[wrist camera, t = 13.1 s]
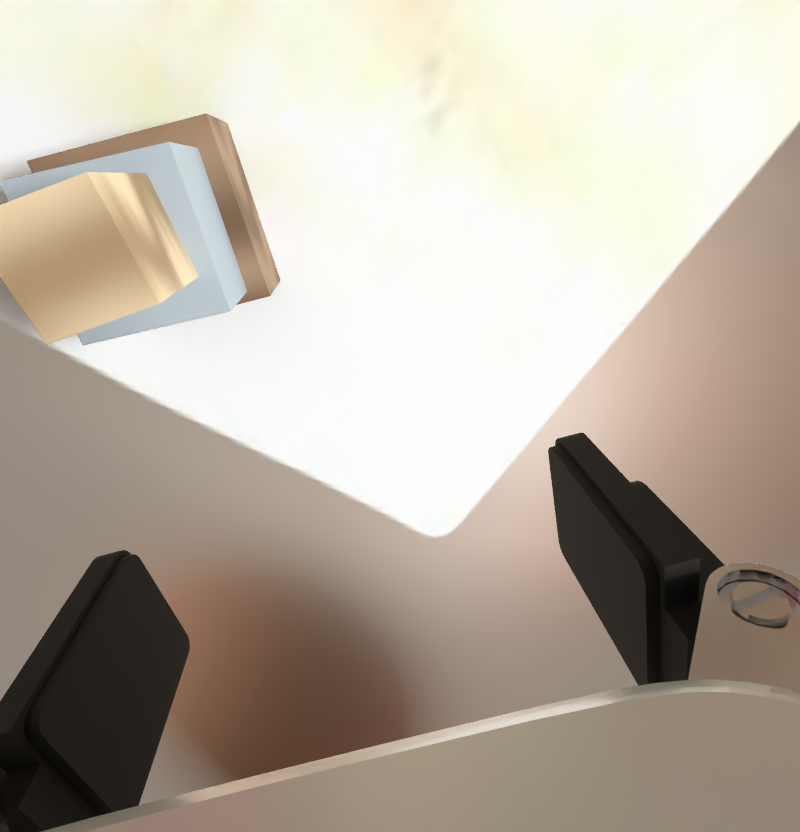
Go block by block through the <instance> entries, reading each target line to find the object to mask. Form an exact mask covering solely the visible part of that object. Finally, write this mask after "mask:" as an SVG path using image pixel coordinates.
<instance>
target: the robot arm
mask: <svg viewBox="0 0 800 832" xmlns="http://www.w3.org/2000/svg"><path fill="white" fill-rule="evenodd" d="M548 453H549V462H550V471H551V479H552V487H553V496H554V505H555V513H556V521H557V530H558V538H559V544H560V548H561V550H562V553H563V555H564V557H565V559H566V561H567V563H568V564H569V566H570V568H571V570H572V571H573V573H574V575H575V576H576V578H577V580H578V582H579V583H580V585H581V587H582V588H583V590H584V592H585V594H586V595H587V597H588V599H589V600H590V602H591V604H592V606H593V607H594V609H595V611H596V613H597V615H598V616H599V618H600V620H601V621H602V623H603V625H604V627H605V628H606V630H607V632H608V633H609V635H610V637H611V639H612V640H613V642H614V644H615V646H616V647H617V649H618V651H619V652H620V654H621V656H622V658H623V659H624V661H625V663H626V665H627V666H628V668H629V670H630V671H631V673H632V675H633V677H634V678H635V680H636V682H637V684H638V685H639V686H634V687H628V688H622V689H617V690H611V691H605V692H601V693H596V694H592V695H588V696H583V697H579V698H574V699H570V700H565V701H561V702H556V703H553V704H548V705H543V706H539V707H535V708H530V709H525V710H521V711H517V712H512V713H509V714H504V715H500V716H496V717H492V718H488V719H484V720H480V721H476V722H472V723H468V724H463V725H459V726H455V727H451V728H447V729H443V730H439V731H435V732H430V733H426V734H423V735H418V736H414V737H410V738H406V739H402V740H398V741H394V742H389V743H385V744H382V745H377V746H373V747H369V748H365V749H361V750H357V751H353V752H349V753H345V754H341V755H337V756H334V757H329V758H325V759H321V760H317V761H313V762H309V763H305V764H301V765H297V766H293V767H289V768H285V769H281V770H277V771H273V772H269V773H265V774H261V775H257V776H253V777H249V778H245V779H241V780H237V781H233V782H229V783H225V784H222V785H217V786H213V787H210V788H206V789H202V790H198V791H194V792H190V793H186V794H182V795H178V796H175V797H171V798H167V799H163V800H159V801H155V802H151V803H147V804H143V805H139V802H140V799H141V796H142V793H143V790H144V787H145V784H146V781H147V778H148V775H149V772H150V769H151V766H152V763H153V760H154V757H155V754H156V751H157V748H158V745H159V742H160V739H161V736H162V732H163V729H164V726H165V723H166V720H167V717H168V714H169V711H170V708H171V705H172V702H173V699H174V696H175V693H176V690H177V687H178V684H179V681H180V678H181V675H182V672H183V669H184V666H185V663H186V659H187V657H188V653H189V647H190V645H189V638H188V636H187V634H186V632H185V631H184V629H183V627H182V626H181V624H180V622H179V621H178V619H177V618H176V616H175V614H174V613H173V611H172V609H171V608H170V606H169V605H168V603H167V602H166V600H165V598H164V597H163V595H162V593H161V592H160V590H159V589H158V587H157V585H156V584H155V582H154V580H153V579H152V577H151V576H150V574H149V572H148V571H147V569H146V568H145V566H144V564H143V563H142V561H141V560H140V558H139V557H138V556H137V555H131V554H130V553H129V552H128V551H125V550H123V551H118V552H114V553H111V554H106V555H103V556H99V557H97V558H95V559H94V560H93V561H92V563H91V564H90V566H89V567H88V569H87V571H86V572H85V574H84V575H83V577H82V578H81V580H80V581H79V583H78V584H77V586H76V587H75V589H74V590H73V592H72V593H71V595H70V596H69V598H68V599H67V601H66V602H65V604H64V605H63V607H62V608H61V610H60V612H59V613H58V615H57V616H56V618H55V619H54V621H53V622H52V624H51V625H50V627H49V628H48V630H47V631H46V633H45V634H44V636H43V637H42V639H41V640H40V642H39V643H38V645H37V646H36V648H35V650H34V651H33V653H32V654H31V656H30V657H29V659H28V660H27V662H26V663H25V665H24V666H23V668H22V669H21V671H20V672H19V674H18V675H17V677H16V679H15V680H14V681H13V683H12V684H11V686H10V687H9V689H8V690H7V692H6V694H5V695H4V697H3V698H2V700H1V701H0V832H800V580H799V579H798V578H796V577H794V576H792V575H790V574H788V573H786V572H784V571H782V570H780V569H777V568H774V567H770V566H767V565H763V564H755V563H748V562H745V563H731V564H728V565H724V564H723V563H722V562H721V561H720V560H719V559H718V558H717V557H716V556H715V555H714V554H713V553H712V552H711V551H710V550H709V549H708V548H707V547H706V546H705V545H704V544H703V543H702V542H701V541H700V540H699V539H698V538H697V536H696V535H695V534H693V532H692V531H691V530H690V529H689V528H688V527H687V526H686V525H685V524H684V523H683V522H682V521H681V520H680V519H679V518H678V517H677V516H676V515H675V514H674V513H673V512H672V511H671V510H670V509H669V508H668V507H667V506H666V505H665V504H664V503H663V502H662V501H661V500H660V499H659V498H658V497H657V496H656V495H655V494H654V493H653V492H652V491H651V490H650V489H649V488H648V486H646V485H645V484H644V483H642V482H640V481H635V482H631V483H630V482H629V481H628V480H627V479H626V478H625V477H624V476H623V474H622V473H620V471H619V470H618V469H617V468H616V467H615V466H614V465H613V464H612V463H611V462H610V461H609V460H608V458H606V456H605V455H604V454H603V453H602V452H601V451H600V450H599V449H598V448H597V447H596V446H595V445H594V444H593V443H592V441H591V440H590V439H589V438H588V437H587V436H586V435H585V434H584V433H578V434H574V435H570V436H566V437H562V438H558V439H557V440H556V443H555V446H554V447H550V448H549V450H548ZM138 805H139V806H138Z"/></svg>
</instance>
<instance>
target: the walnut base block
mask: <svg viewBox="0 0 800 832" xmlns="http://www.w3.org/2000/svg"><path fill="white" fill-rule="evenodd" d="M166 142H172V143H177V144H182V145H187V146H192V147H197V148H198V150H199V153H200V156H201V159H202V161H203V164H204V167H205V170H206V173H207V176H208V179H209V182H210V185H211V188H212V191H213V193H214V196H215V199H216V202H217V205H218V208H219V211H220V214H221V217H222V220H223V223H224V226H225V228H226V231H227V234H228V237H229V240H230V243H231V246H232V249H233V252H234V255H235V258H236V260H237V263H238V266H239V269H240V272H241V275H242V278H243V281H244V284H245V287H246V290H247V293H246V294H245V295H244V296H243V297H242V298H241V300H240V301H239V302H238V303H237V304H241V303H245V302H249V301H252V300H256V299H260V298H264V297H268V296H271V294H272V292H273V291H274V289H275V288H276V286H277V285H278V283H279V281H280V278H279V275H278V272H277V269H276V266H275V263H274V260H273V257H272V254H271V251H270V248H269V245H268V242H267V239H266V236H265V233H264V230H263V228H262V225H261V222H260V219H259V216H258V213H257V210H256V207H255V204H254V201H253V198H252V195H251V192H250V189H249V186H248V183H247V180H246V177H245V174H244V171H243V168H242V165H241V162H240V159H239V156H238V154H237V151H236V148H235V145H234V142H233V139H232V136H231V133H230V130H229V127H228V124H227V123H226V122H223V121H221V120H219V119H217V118H215V117H213V116H211V115H208V114H202V115H199V116H195V117H191V118H187V119H184V120H180V121H176V122H172V123H169V124H165V125H161V126H157V127H153V128H150V129H146V130H142V131H138V132H135V133H131V134H127V135H123V136H119V137H116V138H112V139H108V140H104V141H101V142H97V143H93V144H89V145H86V146H82V147H78V148H74V149H70V150H67V151H63V152H59V153H55V154H52V155H48V156H44V157H40V158H36V159H33V160H29V161H27V163H28V165H29V167H30V169H31V171H32V173H37V172H41V171H45V170H50V169H54V168H58V167H63V166H67V165H71V164H76V163H80V162H84V161H88V160H93V159H97V158H101V157H106V156H110V155H114V154H119V153H123V152H127V151H132V150H136V149H140V148H144V147H149V146H153V145H157V144H162V143H166ZM237 304H236V305H237Z"/></svg>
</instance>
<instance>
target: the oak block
mask: <svg viewBox="0 0 800 832" xmlns="http://www.w3.org/2000/svg"><path fill="white" fill-rule="evenodd" d="M198 277H199V276H198V274H197V272H196V270H195V268H194V266H193V264H192V262H191V260H190V258H189V256H188V254H187V252H186V250H185V248H184V246H183V244H182V243H181V241H180V239H179V237H178V235H177V233H176V231H175V229H174V227H173V225H172V223H171V221H170V219H169V217H168V215H167V213H166V211H165V209H164V207H163V205H162V203H161V201H160V199H159V197H158V195H157V193H156V191H155V189H154V187H153V185H152V183H151V181H150V179H149V177H148V175H147V173H109V172H85V173H83V174H80V175H77V176H75V177H72V178H69V179H67V180H64V181H62V182H59V183H56V184H54V185H51V186H48V187H46V188H43V189H41V190H38V191H35V192H33V193H30V194H27V195H25V196H22V197H20V198H17V199H14V200H12V201H9V202H7V203H4V204H1V205H0V278H1V279H2V281H3V282H4V284H5V285H6V287H7V288H8V290H9V291H10V292H11V294H12V295H13V297H14V298H15V300H16V301H17V303H18V304H19V306H20V307H21V308H22V310H23V311H24V313H25V314H26V316H27V317H28V319H29V320H30V321H31V323H32V324H33V326H34V327H35V329H36V330H37V332H38V333H39V335H40V336H41V337H42V339H43V340H44V342H45V343H46V345H47V344H50V343H53V342H55V341H58V340H61V339H64V338H66V337H69V336H72V335H75V334H77V333H80V332H83V331H86V330H88V329H91V328H94V327H97V326H99V325H102V324H105V323H108V322H110V321H113V320H116V319H119V318H121V317H124V316H127V315H130V314H132V313H135V312H138V311H141V310H143V309H146V308H149V307H152V306H154V305H157V304H160V303H161V302H163V301H164V300H166V299H167V298H169V297H170V296H171V295H173V294H174V293H176V292H177V291H179V290H180V289H182V288H183V287H185V286H186V285H188V284H189V283H191V282H192V281H194V280H195V279H197V278H198Z"/></svg>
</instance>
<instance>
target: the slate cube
mask: <svg viewBox="0 0 800 832" xmlns="http://www.w3.org/2000/svg"><path fill="white" fill-rule="evenodd" d="M85 172H109V173H147V175H148V177H149V179H150V181H151V183H152V185H153V187H154V189H155V191H156V193H157V195H158V197H159V199H160V201H161V203H162V205H163V207H164V209H165V211H166V213H167V215H168V217H169V219H170V221H171V223H172V225H173V227H174V229H175V231H176V233H177V235H178V237H179V239H180V241H181V243H182V244H183V246H184V248H185V250H186V252H187V254H188V256H189V258H190V260H191V262H192V264H193V266H194V268H195V270H196V272H197V274H198V276H199V277H198V278H197V279H195V280H194V281H192V282H191V283H189V284H188V285H186V286H185V287H183V288H182V289H180V290H179V291H177V292H176V293H174V294H173V295H171V296H170V297H169V298H167V299H166V300H164V301H163V302H161V303H160V304H157V305H154V306H152V307H149V308H146V309H143V310H141V311H138V312H135V313H132V314H130V315H127V316H124V317H121V318H119V319H116V320H113V321H110V322H108V323H105V324H102V325H99V326H97V327H94V328H91V329H88V330H86V331H83V332H80V333H77V335H78V337H79V339H80V341H81V343H82V345H87V344H91V343H95V342H100V341H104V340H108V339H113V338H117V337H121V336H126V335H130V334H134V333H138V332H143V331H147V330H151V329H156V328H160V327H164V326H169V325H173V324H177V323H182V322H186V321H190V320H195V319H199V318H203V317H207V316H212V315H216V314H220V313H225V312H229V311H231V310H232V309H233V308H234V307H235V305H236V304H237V303H238V302H239V301H240V300H241V298H242V297H243V296H244V295H245V294H246V293H247V290H246V287H245V284H244V281H243V278H242V275H241V272H240V269H239V266H238V263H237V260H236V258H235V255H234V252H233V249H232V246H231V243H230V240H229V237H228V234H227V231H226V228H225V226H224V223H223V220H222V217H221V214H220V211H219V208H218V205H217V202H216V199H215V196H214V193H213V191H212V188H211V185H210V182H209V179H208V176H207V173H206V170H205V167H204V164H203V161H202V159H201V156H200V153H199V150H198V148H197V147H192V146H187V145H182V144H177V143H172V142H166V143H162V144H157V145H153V146H149V147H144V148H140V149H136V150H132V151H127V152H123V153H119V154H114V155H110V156H106V157H101V158H97V159H93V160H88V161H84V162H80V163H76V164H71V165H67V166H63V167H58V168H54V169H50V170H45V171H41V172H37V173H32V174H28V175H24V176H20V177H15V178H11V179H7V180H2V181H0V186H1V188H2V190H3V191H4V193H5V195H6V197H7V199H8V201H12V200H14V199H17V198H20V197H22V196H25V195H27V194H30V193H33V192H35V191H38V190H41V189H43V188H46V187H48V186H51V185H54V184H56V183H59V182H62V181H64V180H67V179H69V178H72V177H75V176H77V175H80V174H83V173H85Z"/></svg>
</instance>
